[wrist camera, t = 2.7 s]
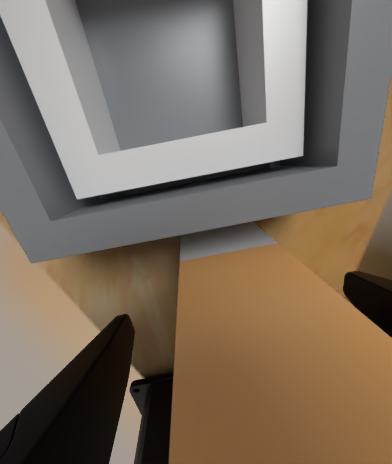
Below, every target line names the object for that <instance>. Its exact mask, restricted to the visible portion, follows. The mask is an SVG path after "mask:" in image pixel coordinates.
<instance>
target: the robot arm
mask: <svg viewBox="0 0 392 464" xmlns="http://www.w3.org/2000/svg"><path fill="white" fill-rule="evenodd" d="M343 291H344V294H345V295H346V297H347V298H348V299H349V300H350V302H351V303H352V304H353V305H354V306H355V308H357V309H358V310H359V311H360V312H361V313H362V314H364V315H365V316H366V317H367V318H368V319H370V320H371V321H372V322H373V323H374V324H376V325H377V326H378V327H379V328H380V329H382V330H383V331H384V332H385V333H386V334H388V335H389V336H390V337H391V338H392V280H389V279H385V278H382V277H378V276H375V275H371V274H368V273H364V272H360V271H353V272H348V273H346V274H345V277H344V285H343ZM134 335H135V330H134V327H133V324H132V322H131V319H130V317H129V315H128V314H123V315H118V316H116V317H115V318H114V319H113V320H112V321H111V322H110V323H109V324H108V325H107V326H106V327H105V328H104V329H103V330H102V331H101V332H100V333H99V334H98V335H97V336H96V337H95V338H94V339H93V340H92V341H91V342H90V343H89V344H88V345H87V346H86V347H85V348H84V349H83V350H82V351H81V352H80V353H79V354H78V355H77V356H76V357H75V358H74V359H73V360H72V361H71V362H70V363H69V364H68V365H67V366H66V367H65V368H64V369H63V370H62V371H61V372H60V373H59V374H58V375H57V376H56V377H55V378H54V379H53V380H52V381H51V382H50V383H49V384H47V385H46V387H44V388H43V389H42V390H41V391H40V392H39V393H38V394H37V395H36V396H35V398H33V399H32V400H31V401H30V402H29V403H28V404H27V405H26V406H25V407H24V408H23V409H22V410H21V412H20V414H17V415H16V416H15V417H14V418H13V419H12V420H11V421H10V422H9V423H8V424H7V425H6V426H5V427H4V428H3V429H2V430H1V431H0V464H109V461H110V456H111V452H112V447H113V444H114V439H115V435H116V431H117V426H118V422H119V418H120V413H121V409H122V404H123V400H124V396H125V391H126V387H127V382H128V378H129V372H130V365H131V358H132V350H133V343H134ZM173 376H174V373H173V374H167V375H162V376H156V377H151V378H145V379H140V380H135V381H133V382H132V383H131V387H130V393H131V395H132V397H133V399H134V401H135V403H136V405H137V407H138V409H139V411H140V413H141V415H142V419H141V425H140V431H139V437H138V443H137V448H136V455H135V460H134V464H169V449H170V431H171V413H172V394H173Z"/></svg>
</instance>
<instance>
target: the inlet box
mask: <svg viewBox="0 0 392 464" xmlns="http://www.w3.org/2000/svg"><path fill="white" fill-rule="evenodd" d="M391 75H392V0H0V210H1V212H2V214H3V216H4V217H5V219H6V221H7V222H8V224H9V226H10V228H11V229H12V231H13V233H14V235H15V236H16V238H17V240H18V241H19V243H20V245H21V247H22V248H23V250H24V252H25V253H26V255H27V257H28V259H29V260H30V262H31V263H37V262H42V261H47V260H52V259H58V258H63V257H68V256H73V255H79V254H84V253H89V252H94V251H100V250H105V249H110V248H115V247H121V246H126V245H131V244H136V243H142V242H147V241H152V240H157V239H163V238H168V237H173V236H178V235H184V234H189V233H194V232H199V231H205V230H210V229H215V228H220V227H226V226H231V225H236V224H241V223H247V222H252V221H257V220H262V219H268V218H273V217H278V216H283V215H289V214H294V213H299V212H304V211H310V210H315V209H320V208H325V207H331V206H336V205H341V204H346V203H352V202H357V201H362V200H367V199H371V197H372V191H373V185H374V179H375V173H376V167H377V160H378V154H379V148H380V142H381V136H382V130H383V124H384V118H385V112H386V105H387V99H388V93H389V87H390V81H391Z"/></svg>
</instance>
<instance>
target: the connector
mask: <svg viewBox="0 0 392 464" xmlns="http://www.w3.org/2000/svg"><path fill="white" fill-rule="evenodd" d="M169 464H392V338H391V337H390V336H389V335H388V334H386V333H385V332H384V331H383V330H382V329H380V328H379V327H378V326H377V325H376V324H374V323H373V322H372V321H371V320H370V319H368V318H367V317H366V316H365V315H364V314H362V313H361V312H360V311H359V310H358V309H357V308H355V307H354V306H353V305H352V304H351V303H349V302H348V301H347V300H346V299H345V298H343V297H342V296H341V295H340V294H339V293H337V292H336V291H335V290H334V289H333V288H331V287H330V286H329V285H328V284H327V283H325V282H324V281H323V280H322V279H321V278H319V277H318V276H317V275H316V274H315V273H313V272H312V271H311V270H310V269H309V268H307V267H306V266H305V265H304V264H303V263H301V262H300V261H299V260H298V259H297V258H296V257H294V256H293V255H292V254H291V253H290V252H288V251H287V250H286V249H285V248H284V247H282V246H281V245H280V244H279V243H278V242H276V241H275V240H274V239H273V238H272V237H270V236H269V235H268V234H267V233H266V232H264V231H263V230H262V229H261V228H260V227H258V226H257V225H256V224H255V223H254V222H247V223H241V224H236V225H231V226H226V227H220V228H215V229H210V230H205V231H199V232H194V233H189V234H184V235H181V247H180V265H179V283H178V302H177V320H176V339H175V357H174V376H173V394H172V413H171V431H170V449H169Z"/></svg>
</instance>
